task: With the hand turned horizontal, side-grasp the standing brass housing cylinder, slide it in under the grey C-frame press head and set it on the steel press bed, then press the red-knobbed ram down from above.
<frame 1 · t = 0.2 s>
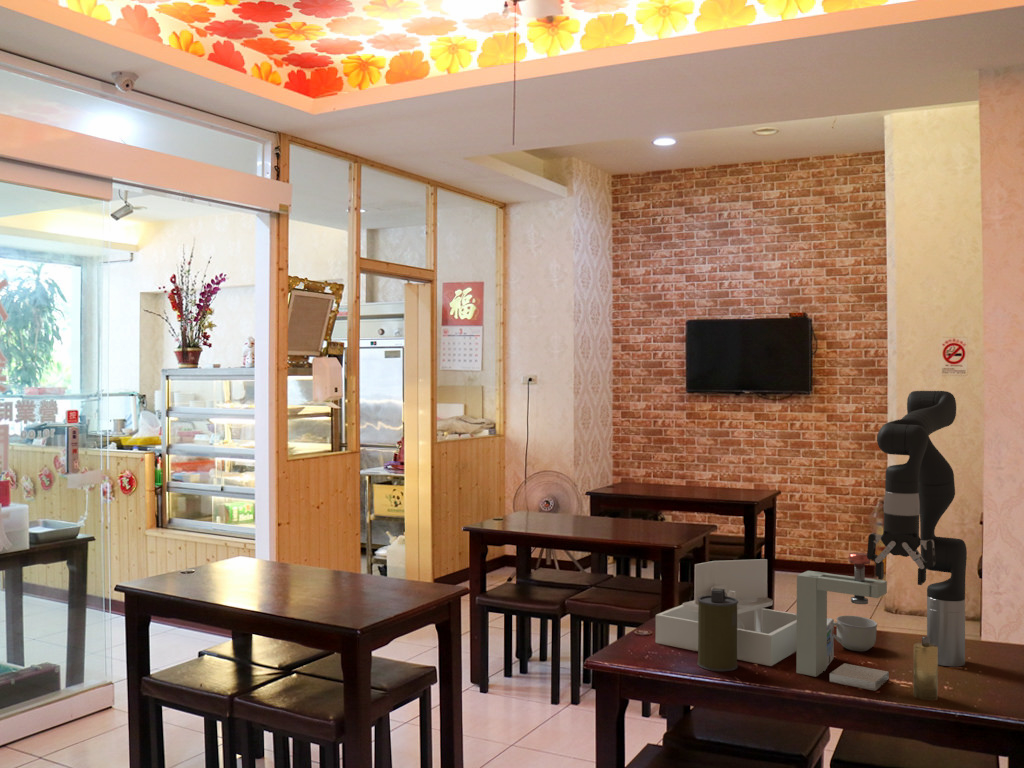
hand: (900, 581, 207), 29 cm above the table, tool pointing down, fingers open, 8 cm apart
press frame: (811, 671, 233), on the table
light bulb box: (817, 661, 242), on the table
canister: (717, 666, 237), on the table
press bed: (859, 680, 225), on the table
upright panel with ledge: (732, 645, 258), resting in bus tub
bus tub: (732, 643, 258), on the table
teacup: (850, 649, 254), on the table
ram: (859, 578, 226), point 26 cm above the table, slide at 0.0 cm
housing: (925, 696, 214), on the table
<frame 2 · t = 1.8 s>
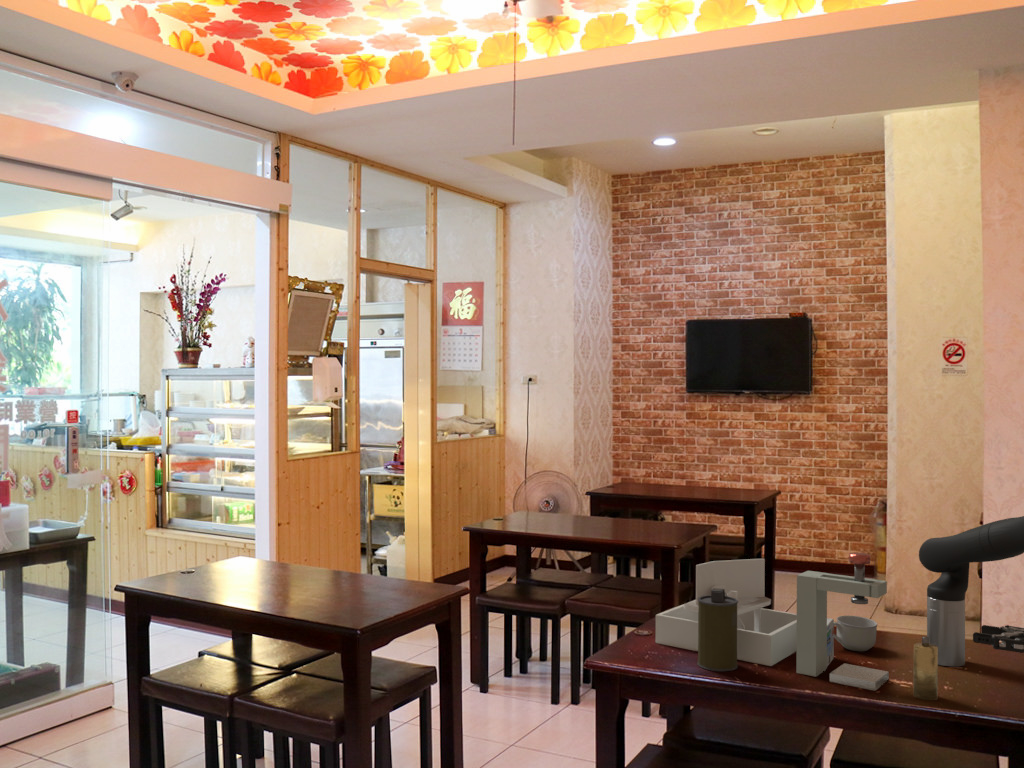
hand: (977, 633, 207), 17 cm above the table, tool horizontal, fingers open, 8 cm apart
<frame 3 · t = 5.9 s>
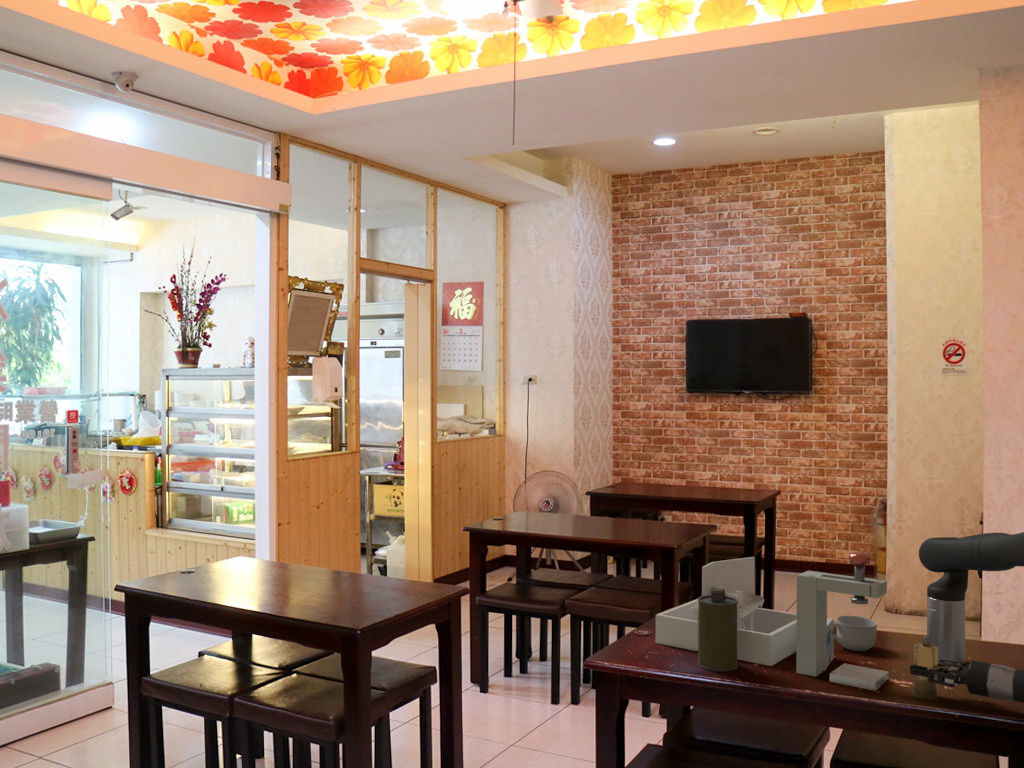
hand: (913, 666, 216), 7 cm above the table, tool horizontal, fingers closed on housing, 5 cm apart
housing: (925, 696, 214), on the table, touching gripper
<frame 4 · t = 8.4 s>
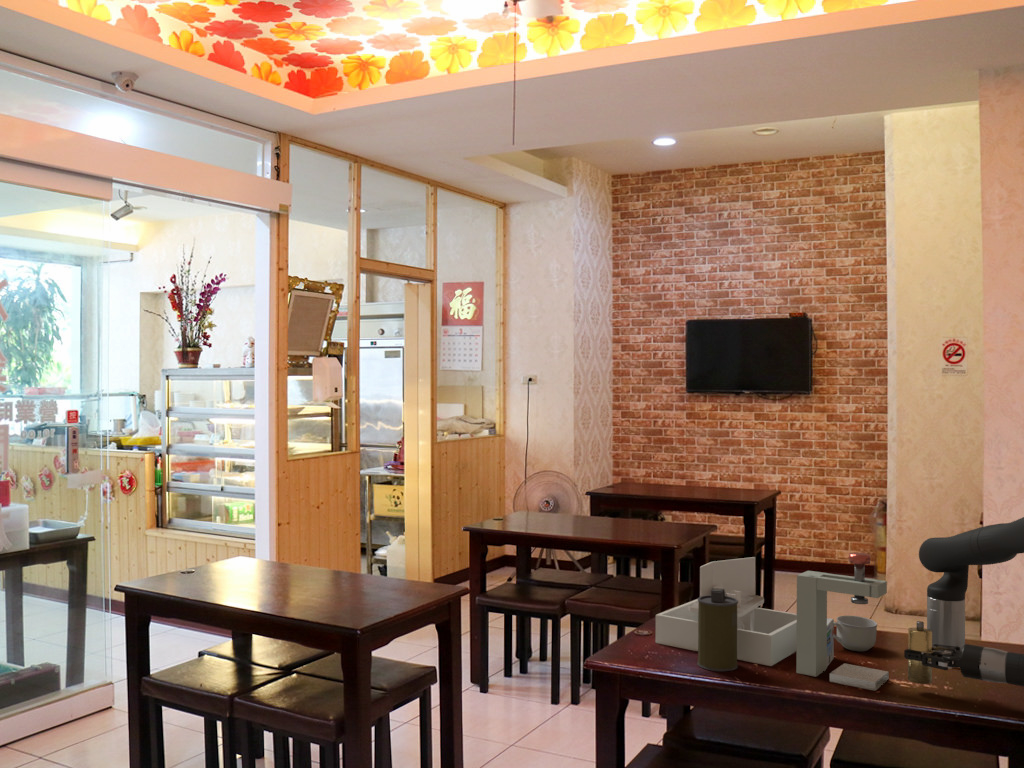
hand: (908, 650, 218), 10 cm above the table, tool horizontal, fingers closed on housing, 5 cm apart
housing: (919, 680, 217), point 3 cm above the table, touching gripper
when the fingers open (9 cm above the table, at t = 11.3 s): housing stays where it is, resting on press bed.
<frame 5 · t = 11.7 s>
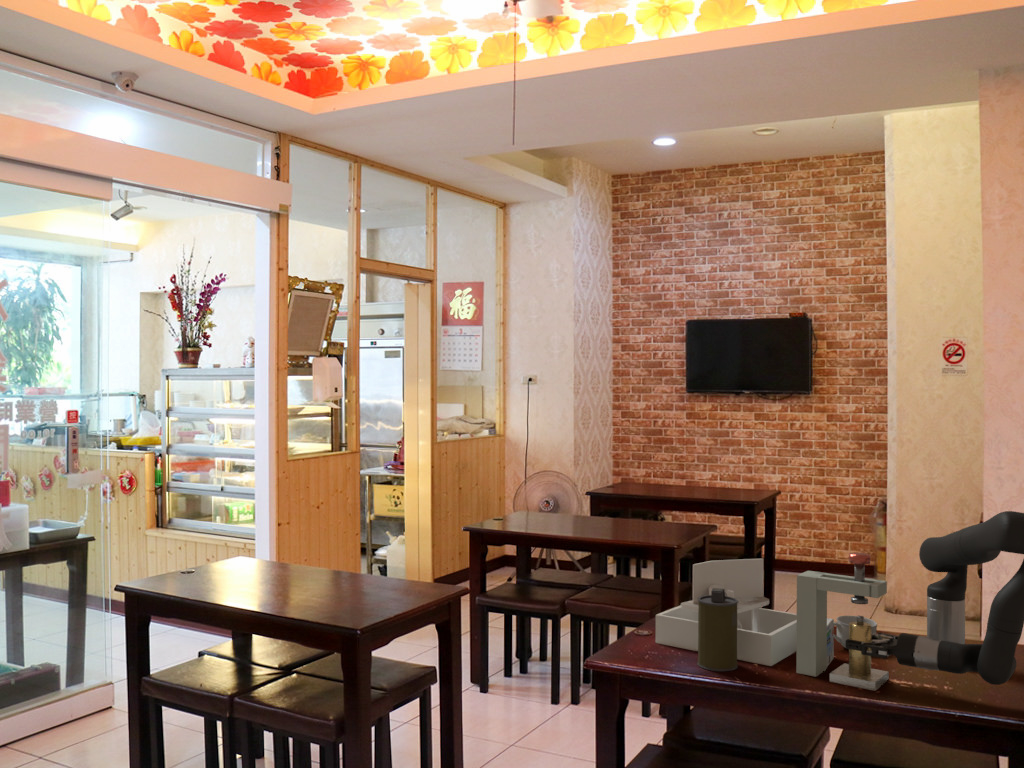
hand: (851, 639, 227), 10 cm above the table, tool horizontal, fingers open, 8 cm apart
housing: (859, 672, 225), point 2 cm above the table, touching press bed
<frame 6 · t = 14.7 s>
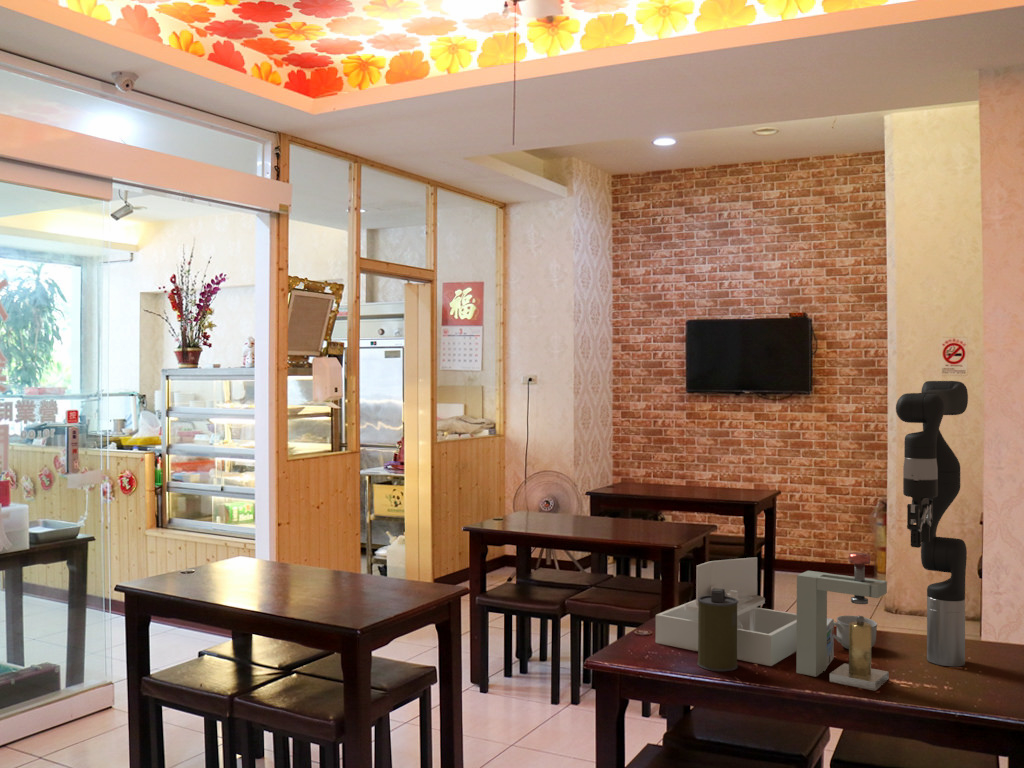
hand: (920, 544, 217), 36 cm above the table, tool pointing down, fingers open, 7 cm apart
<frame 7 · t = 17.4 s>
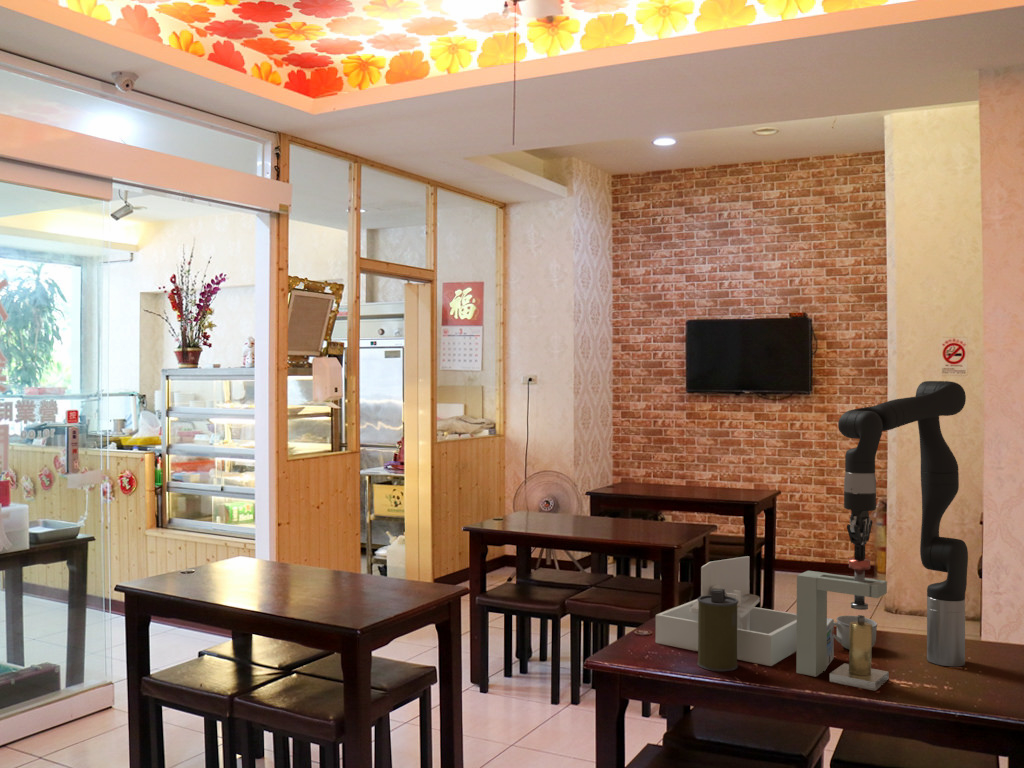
hand: (859, 559, 226), 30 cm above the table, tool pointing down, fingers closed
ram: (859, 583, 226), point 24 cm above the table, slide at 1.4 cm, touching gripper
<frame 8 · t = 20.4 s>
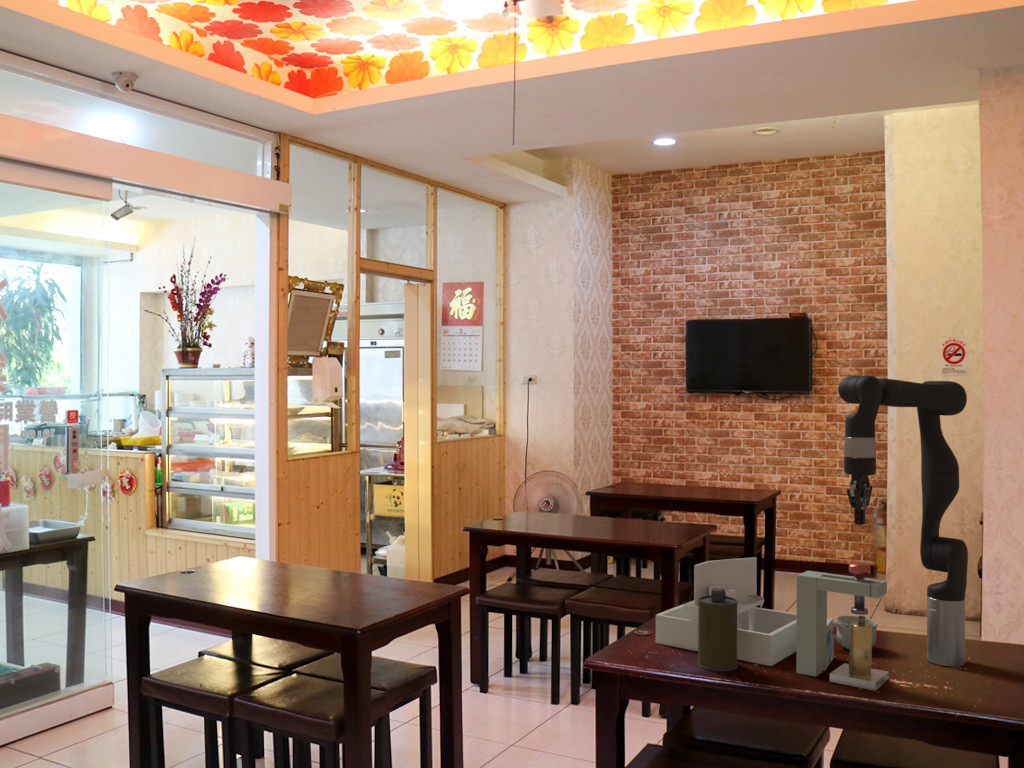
hand: (859, 524, 226), 39 cm above the table, tool pointing down, fingers closed
ram: (859, 588, 226), point 23 cm above the table, slide at 2.6 cm
at the end: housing inside the target area on the press bed (0.1 cm from its centre), point 2.1 cm above the press bed's base; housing tilted 2°; ram slide at 2.6 cm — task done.
